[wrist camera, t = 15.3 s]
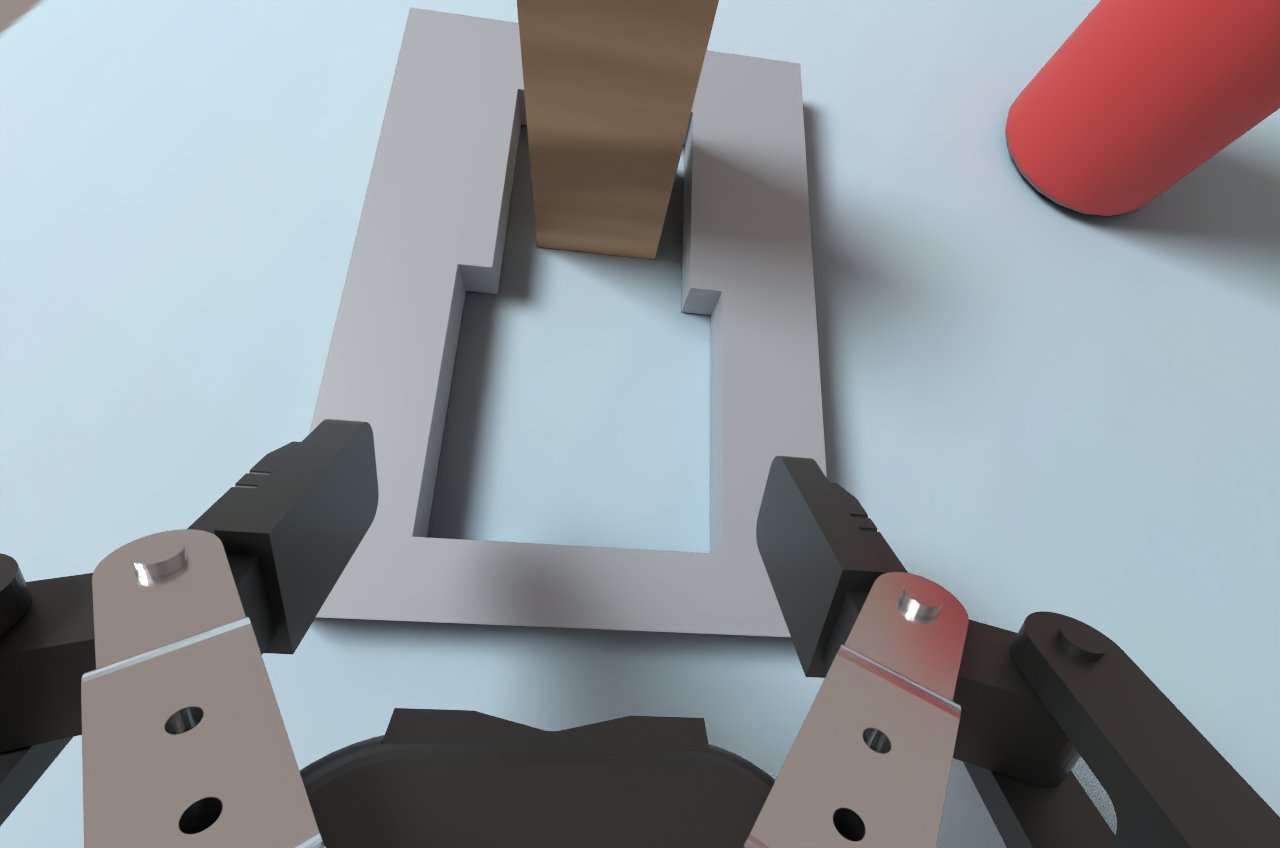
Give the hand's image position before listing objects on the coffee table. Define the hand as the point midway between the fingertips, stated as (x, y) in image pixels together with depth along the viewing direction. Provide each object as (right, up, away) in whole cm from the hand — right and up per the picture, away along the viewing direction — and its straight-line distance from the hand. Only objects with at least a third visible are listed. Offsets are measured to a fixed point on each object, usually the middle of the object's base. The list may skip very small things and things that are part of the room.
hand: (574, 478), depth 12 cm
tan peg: (0, +9, +9) cm, 12 cm away
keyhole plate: (0, +5, +7) cm, 9 cm away
